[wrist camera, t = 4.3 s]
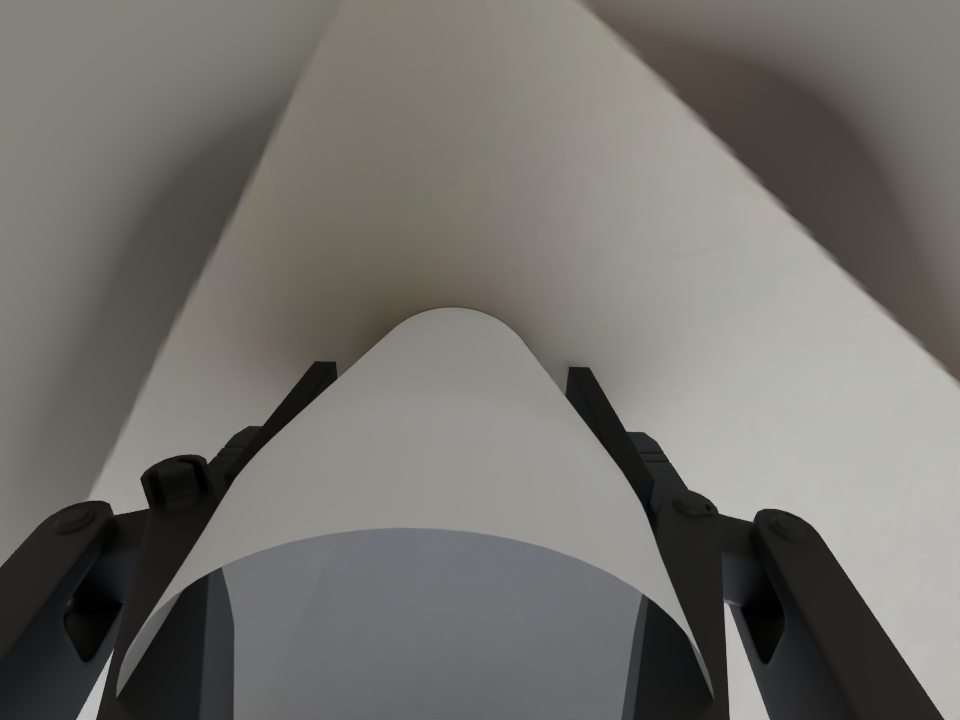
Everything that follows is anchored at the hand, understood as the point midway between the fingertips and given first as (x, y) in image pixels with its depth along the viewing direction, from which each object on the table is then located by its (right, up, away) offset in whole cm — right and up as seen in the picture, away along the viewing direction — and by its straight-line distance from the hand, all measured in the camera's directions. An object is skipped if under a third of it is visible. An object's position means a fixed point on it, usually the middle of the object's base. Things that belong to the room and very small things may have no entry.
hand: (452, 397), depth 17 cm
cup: (0, 0, +1) cm, 1 cm away
